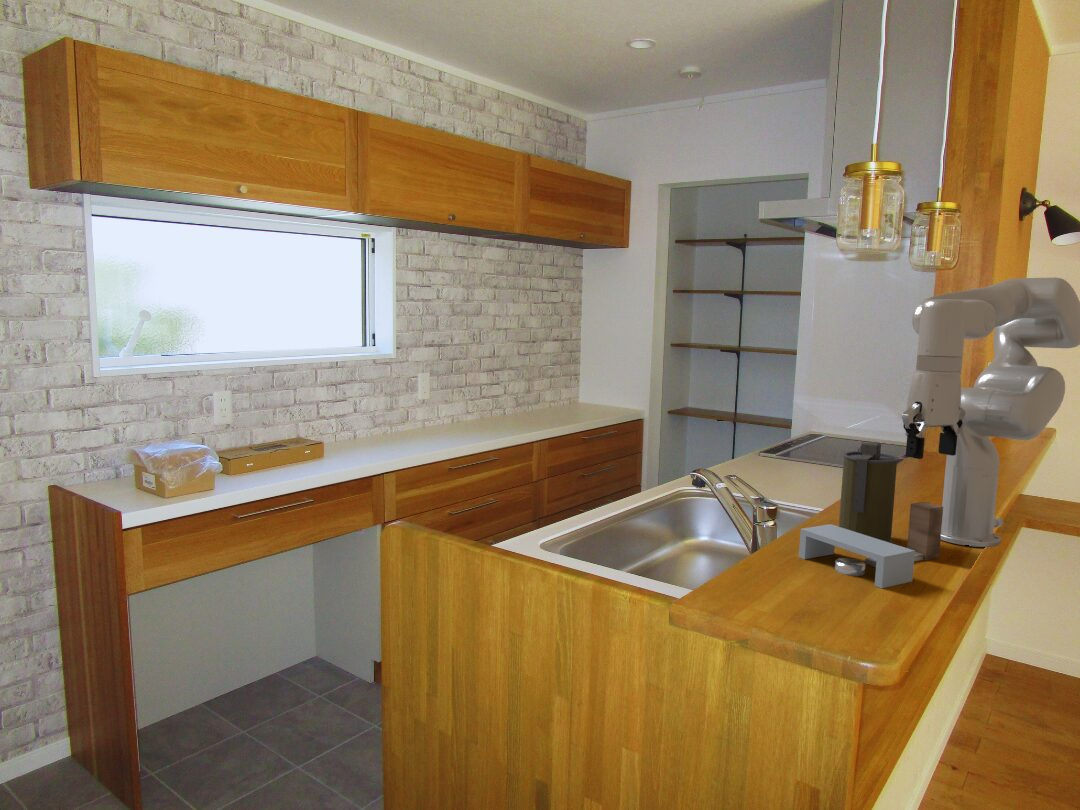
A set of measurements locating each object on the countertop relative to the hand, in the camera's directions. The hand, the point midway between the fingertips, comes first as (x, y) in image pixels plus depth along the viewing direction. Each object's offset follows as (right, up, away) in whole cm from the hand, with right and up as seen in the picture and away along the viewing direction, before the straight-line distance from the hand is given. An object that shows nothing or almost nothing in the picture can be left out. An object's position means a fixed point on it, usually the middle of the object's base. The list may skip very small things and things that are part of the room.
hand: (930, 456), depth 142 cm
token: (-18, -20, -7) cm, 28 cm away
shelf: (-17, -20, -6) cm, 27 cm away
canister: (-7, -18, +13) cm, 23 cm away
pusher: (-6, -20, -1) cm, 21 cm away
